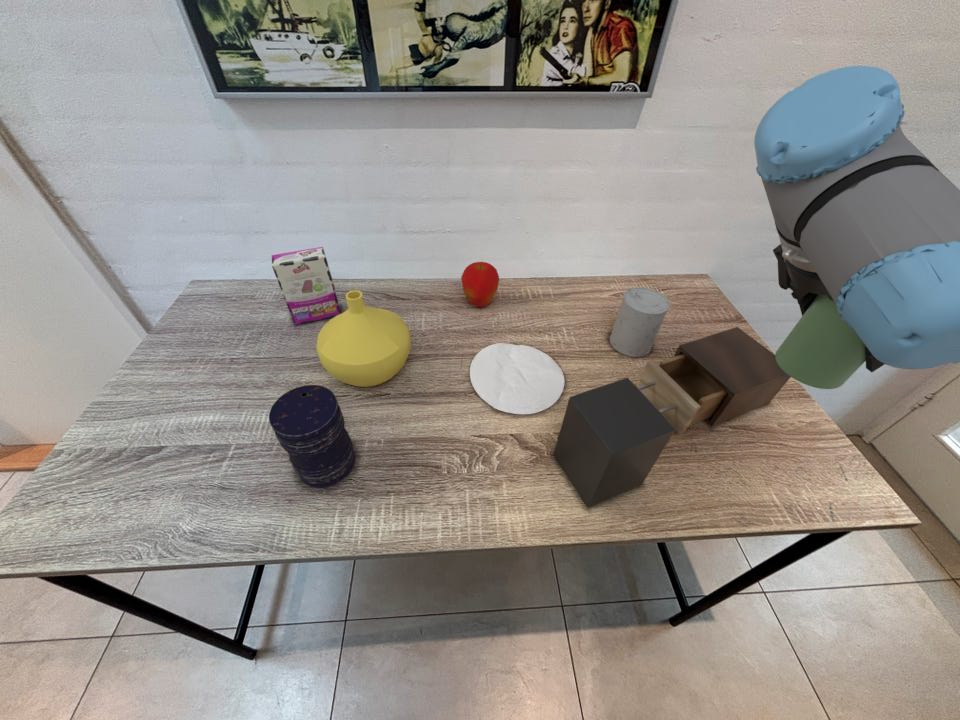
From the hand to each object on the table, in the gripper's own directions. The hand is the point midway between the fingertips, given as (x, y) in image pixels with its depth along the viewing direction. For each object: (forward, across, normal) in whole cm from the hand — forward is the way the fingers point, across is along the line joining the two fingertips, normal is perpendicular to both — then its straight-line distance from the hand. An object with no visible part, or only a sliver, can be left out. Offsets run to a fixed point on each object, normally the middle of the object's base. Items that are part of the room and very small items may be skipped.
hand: (846, 339), depth 52 cm
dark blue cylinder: (-27, -22, -70) cm, 78 cm away
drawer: (+19, -15, -22) cm, 33 cm away
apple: (+1, -59, -42) cm, 72 cm away
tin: (0, 0, -5) cm, 5 cm away
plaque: (+1, -32, -42) cm, 53 cm away
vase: (-20, -43, -63) cm, 79 cm away
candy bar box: (-27, -66, -70) cm, 99 cm away
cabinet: (+28, -16, -15) cm, 35 cm away
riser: (+4, -7, -38) cm, 39 cm away
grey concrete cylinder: (+22, -34, -21) cm, 46 cm away
